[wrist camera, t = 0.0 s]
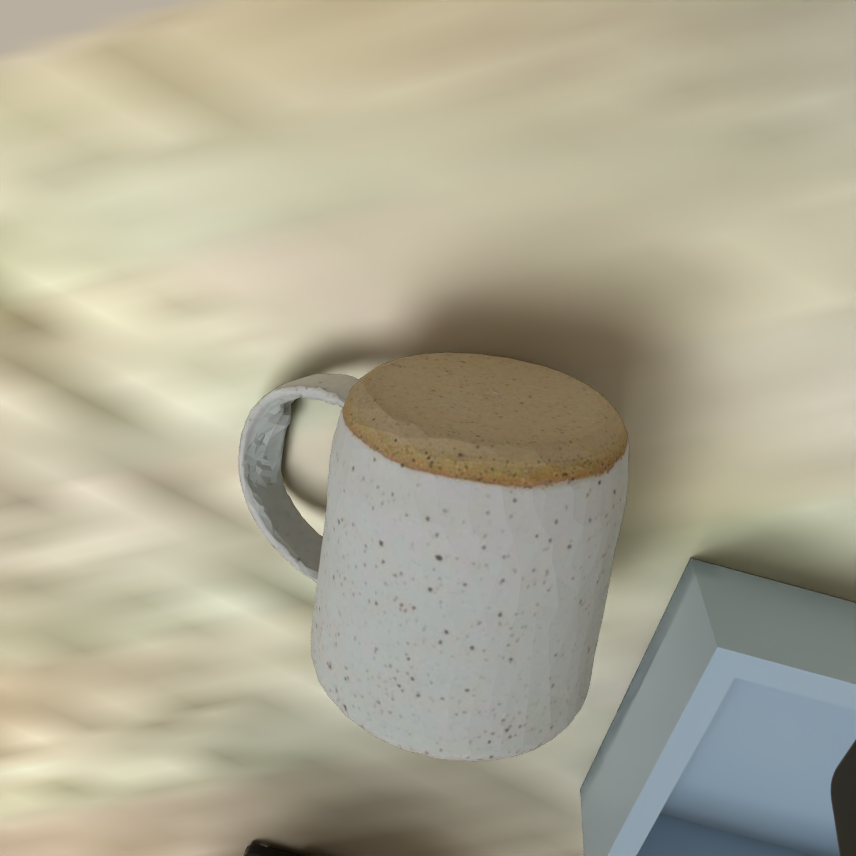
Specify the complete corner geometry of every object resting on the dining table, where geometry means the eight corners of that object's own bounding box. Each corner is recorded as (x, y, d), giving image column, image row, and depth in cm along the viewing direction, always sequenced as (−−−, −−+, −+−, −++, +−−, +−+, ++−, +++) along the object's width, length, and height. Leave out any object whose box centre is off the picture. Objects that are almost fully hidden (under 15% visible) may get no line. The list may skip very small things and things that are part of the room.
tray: (863, 866, 29) (909, 983, 25) (580, 789, 29) (586, 895, 25) (1029, 649, 24) (1115, 755, 20) (690, 558, 24) (717, 646, 21)
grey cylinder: (629, 355, 22) (665, 495, 15) (580, 596, 25) (591, 799, 18) (254, 309, 23) (124, 421, 16) (258, 547, 26) (153, 723, 19)
